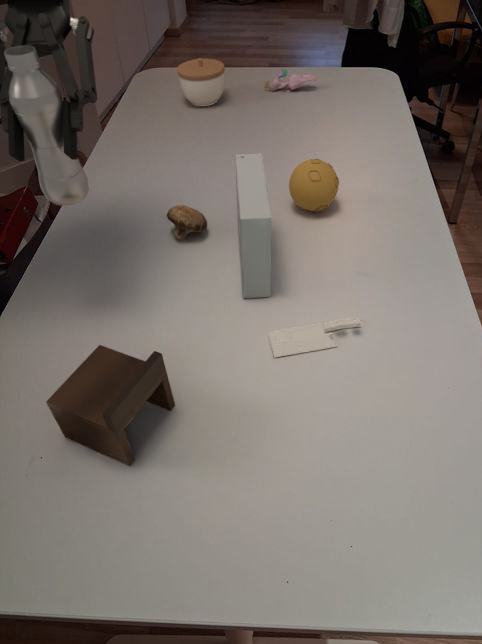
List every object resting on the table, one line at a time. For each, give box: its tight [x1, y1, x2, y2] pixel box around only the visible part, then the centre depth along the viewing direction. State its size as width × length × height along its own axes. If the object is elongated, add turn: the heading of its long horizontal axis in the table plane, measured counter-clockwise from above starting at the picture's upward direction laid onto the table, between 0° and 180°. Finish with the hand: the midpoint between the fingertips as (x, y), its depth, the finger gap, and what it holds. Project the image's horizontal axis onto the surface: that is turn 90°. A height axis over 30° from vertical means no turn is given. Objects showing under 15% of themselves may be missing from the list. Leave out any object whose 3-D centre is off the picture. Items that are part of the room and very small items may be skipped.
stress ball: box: [288, 158, 340, 213], centre depth 107 cm, size 10×10×10 cm
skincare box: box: [234, 153, 272, 299], centre depth 93 cm, size 21×5×16 cm, turn 4°
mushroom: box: [166, 204, 208, 241], centre depth 104 cm, size 8×8×6 cm
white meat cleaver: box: [266, 316, 362, 359], centre depth 84 cm, size 5×15×1 cm, turn 101°
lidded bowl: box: [176, 57, 226, 105], centre depth 145 cm, size 13×13×11 cm
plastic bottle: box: [4, 45, 90, 207], centre depth 71 cm, size 6×7×20 cm
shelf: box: [45, 344, 176, 467], centre depth 71 cm, size 11×11×11 cm
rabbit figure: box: [263, 68, 318, 92], centre depth 151 cm, size 6×6×15 cm
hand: (43, 156), depth 70 cm, fingers closed on plastic bottle, 6 cm apart
